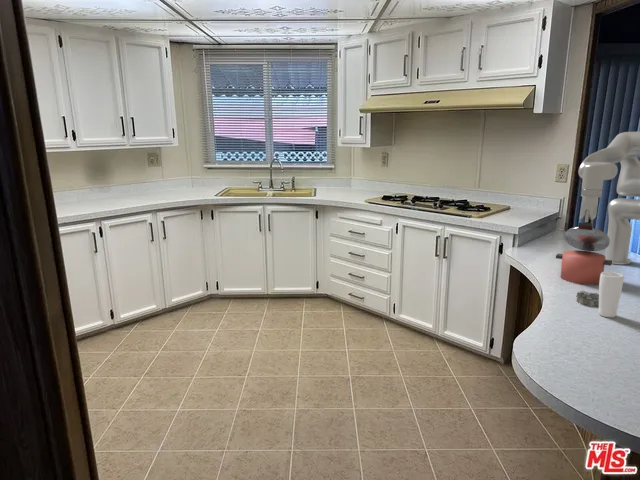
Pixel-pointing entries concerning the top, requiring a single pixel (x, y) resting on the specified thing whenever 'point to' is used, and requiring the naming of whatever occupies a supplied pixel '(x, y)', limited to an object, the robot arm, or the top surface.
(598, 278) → the cooker pot
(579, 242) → the cooker lid
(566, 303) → the top surface
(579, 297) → the egg carton
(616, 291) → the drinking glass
